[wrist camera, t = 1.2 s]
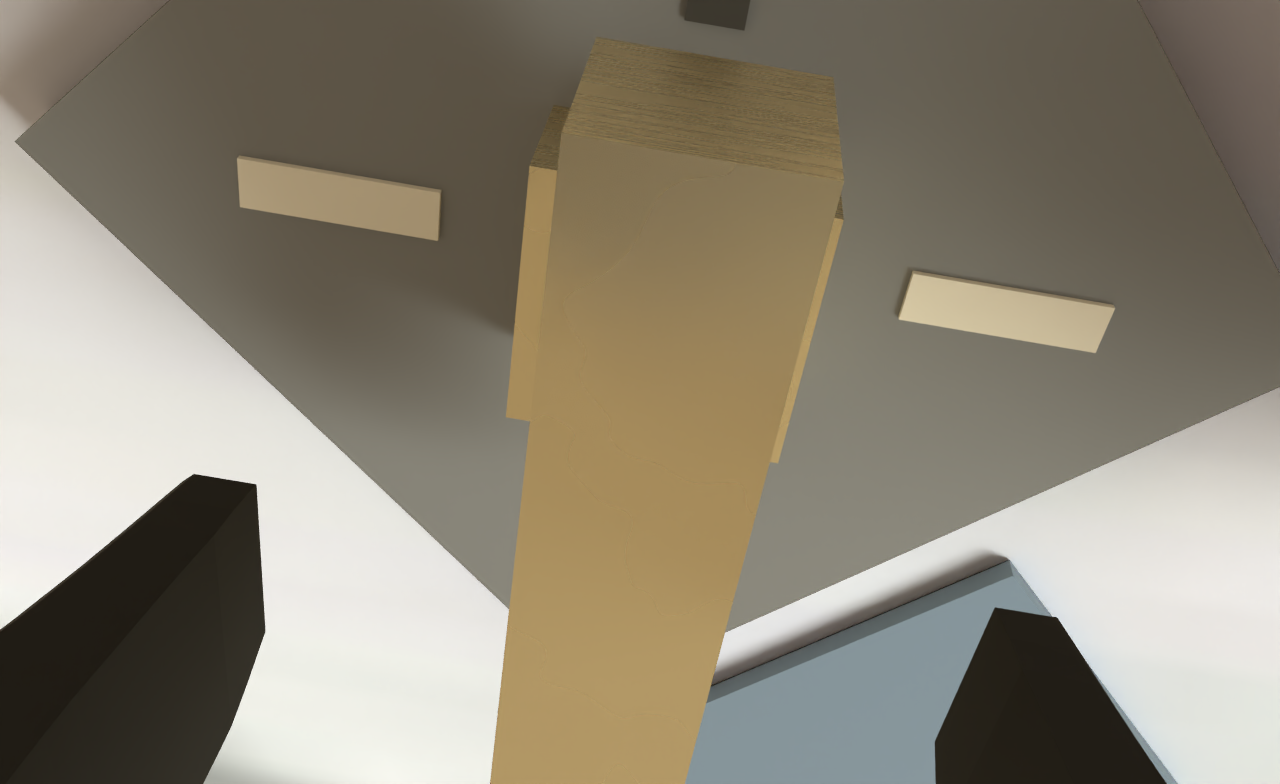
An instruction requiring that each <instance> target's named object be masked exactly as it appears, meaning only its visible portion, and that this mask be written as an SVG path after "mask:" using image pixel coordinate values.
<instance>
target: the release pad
mask: <svg viewBox="0 0 1280 784" xmlns="http://www.w3.org/2000/svg"><path fill="white" fill-rule="evenodd" d="M995 607H997V608H1003V609H1009V610H1015V611H1021V612H1027V613H1033V614H1039V615H1045V616H1051V615H1050V613H1049V612H1048V611H1047V609H1046V608H1045V607H1044V605H1043V604H1042V603H1041V601H1040V600H1039V599H1038V597H1037V596H1036V595H1035V593H1034V592H1033V591H1032V589H1031V588H1030V587H1029V585H1028V584H1027V583H1026V581H1025V580H1024V579H1023V577H1022V576H1021V575H1020V573H1019V572H1018V571H1017V569H1016V568H1015V567H1014V565H1013V564H1012V563H1011V561H1010V560H1009V561H1007V562H1004V563H1002V564H1000V565H997V566H995V567H992V568H990V569H988V570H985V571H983V572H981V573H978V574H976V575H974V576H971V577H969V578H966V579H964V580H962V581H959V582H957V583H955V584H952V585H950V586H948V587H945V588H943V589H940V590H938V591H936V592H933V593H931V594H929V595H926V596H924V597H922V598H919V599H917V600H914V601H912V602H910V603H907V604H905V605H903V606H900V607H898V608H896V609H893V610H891V611H888V612H886V613H884V614H881V615H879V616H877V617H874V618H872V619H870V620H867V621H865V622H863V623H860V624H858V625H855V626H853V627H851V628H848V629H846V630H844V631H841V632H839V633H837V634H834V635H832V636H829V637H827V638H825V639H822V640H820V641H818V642H815V643H813V644H811V645H808V646H806V647H803V648H801V649H799V650H796V651H794V652H792V653H789V654H787V655H785V656H782V657H780V658H777V659H775V660H773V661H770V662H768V663H766V664H763V665H761V666H759V667H756V668H754V669H751V670H749V671H747V672H744V673H742V674H740V675H737V676H735V677H733V678H730V679H728V680H726V681H723V682H721V683H718V684H716V685H714V686H711V687H710V691H709V694H708V698H707V702H706V706H705V709H704V713H703V717H702V721H701V725H700V728H699V732H698V736H697V740H696V744H695V747H694V751H693V755H692V759H691V762H690V766H689V770H688V774H687V778H686V781H685V784H936V780H935V740H936V737H937V735H938V733H939V731H940V729H941V726H942V724H943V722H944V720H945V717H946V715H947V713H948V711H949V708H950V706H951V704H952V702H953V699H954V697H955V695H956V693H957V691H958V688H959V686H960V684H961V682H962V679H963V677H964V675H965V673H966V670H967V668H968V666H969V664H970V662H971V659H972V657H973V655H974V653H975V650H976V648H977V646H978V644H979V641H980V639H981V637H982V635H983V632H984V630H985V628H986V626H987V624H988V621H989V619H990V617H991V615H992V612H993V610H994V608H995ZM1051 617H1052V616H1051ZM1091 670H1092V669H1091ZM1092 672H1093V671H1092ZM1093 673H1094V672H1093ZM1094 675H1095V673H1094ZM1095 676H1096V675H1095ZM1096 678H1097V679H1098V681H1099V682H1100V684H1101V685H1102V687H1103V689H1104V690H1105V692H1106V693H1107V695H1108V696H1109V698H1110V699H1111V701H1112V702H1113V704H1114V705H1115V707H1116V709H1117V710H1118V712H1119V713H1120V715H1121V716H1122V718H1123V719H1124V721H1125V722H1126V724H1127V725H1128V727H1129V728H1130V730H1131V731H1132V733H1133V734H1134V736H1135V737H1136V739H1137V740H1138V742H1139V743H1140V745H1141V746H1142V748H1143V749H1144V751H1145V752H1146V754H1147V755H1148V757H1149V758H1150V760H1151V761H1152V763H1153V764H1154V766H1155V767H1156V769H1157V770H1158V772H1159V773H1160V774H1161V776H1162V777H1163V779H1164V780H1165V782H1166V783H1167V784H1177V782H1176V781H1175V780H1174V778H1173V777H1172V776H1171V774H1170V773H1169V772H1168V770H1167V769H1166V768H1165V766H1164V765H1163V764H1162V762H1161V761H1160V760H1159V758H1158V757H1157V756H1156V754H1155V753H1154V752H1153V750H1152V749H1151V748H1150V746H1149V745H1148V744H1147V742H1146V741H1145V740H1144V738H1143V737H1142V736H1141V734H1140V733H1139V732H1138V730H1137V729H1136V728H1135V726H1134V725H1133V724H1132V722H1131V721H1130V720H1129V718H1128V717H1127V716H1126V714H1125V713H1124V712H1123V710H1122V709H1121V708H1120V706H1119V705H1118V704H1117V702H1116V701H1115V700H1114V698H1113V697H1112V696H1111V694H1110V693H1109V692H1108V690H1107V689H1106V688H1105V686H1104V685H1103V684H1102V682H1101V681H1100V680H1099V678H1098V677H1097V676H1096Z"/></svg>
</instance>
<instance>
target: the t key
mask: <svg viewBox="0 0 1280 784" xmlns="http://www.w3.org/2000/svg"><path fill="white" fill-rule="evenodd" d="M843 184H844V176H843V167H842V157H841V147H840V137H839V127H838V118H837V108H836V98H835V88H834V79H833V77H829V76H823V75H817V74H812V73H806V72H800V71H794V70H788V69H783V68H777V67H771V66H765V65H759V64H753V63H748V62H742V61H736V60H730V59H724V58H719V57H713V56H707V55H701V54H695V53H689V52H684V51H678V50H672V49H666V48H660V47H654V46H649V45H643V44H637V43H631V42H625V41H620V40H614V39H608V38H602V37H596V39H595V42H594V45H593V48H592V50H591V53H590V56H589V59H588V61H587V64H586V67H585V70H584V72H583V75H582V78H581V81H580V83H579V86H578V89H577V92H576V94H575V97H574V100H573V103H572V105H571V108H569V107H563V106H557V105H553V108H552V110H551V113H550V115H549V118H548V121H547V123H546V126H545V128H544V131H543V133H542V136H541V138H540V141H539V143H538V146H537V148H536V151H535V153H534V156H533V158H532V161H531V164H530V166H529V177H528V188H527V198H526V209H525V219H524V230H523V241H522V251H521V262H520V272H519V283H518V293H517V304H516V315H515V325H514V336H513V346H512V357H511V368H510V378H509V389H508V399H507V410H506V417H508V418H514V419H519V420H525V421H530V424H529V434H528V443H527V452H526V461H525V470H524V479H523V488H522V497H521V507H520V516H519V525H518V534H517V543H516V552H515V561H514V570H513V580H512V589H511V598H510V607H509V616H508V625H507V634H506V644H505V653H504V662H503V671H502V680H501V689H500V698H499V707H498V717H497V726H496V735H495V744H494V753H493V762H492V771H491V780H490V784H685V781H686V778H687V774H688V770H689V766H690V762H691V759H692V755H693V751H694V747H695V744H696V740H697V736H698V732H699V728H700V725H701V721H702V717H703V713H704V709H705V706H706V702H707V698H708V694H709V691H710V687H711V683H712V679H713V675H714V672H715V668H716V664H717V660H718V657H719V653H720V649H721V645H722V641H723V638H724V634H725V630H726V626H727V622H728V619H729V615H730V611H731V607H732V604H733V600H734V596H735V592H736V588H737V585H738V581H739V577H740V573H741V570H742V566H743V562H744V558H745V554H746V551H747V547H748V543H749V539H750V535H751V532H752V528H753V524H754V520H755V517H756V513H757V509H758V505H759V501H760V498H761V494H762V490H763V486H764V482H765V479H766V475H767V471H768V467H769V464H770V462H773V463H778V462H779V458H780V454H781V451H782V447H783V443H784V439H785V436H786V432H787V428H788V425H789V421H790V417H791V413H792V410H793V406H794V402H795V399H796V395H797V391H798V387H799V384H800V380H801V376H802V373H803V369H804V365H805V362H806V358H807V354H808V350H809V347H810V343H811V339H812V336H813V332H814V328H815V324H816V321H817V317H818V313H819V310H820V306H821V302H822V298H823V295H824V291H825V287H826V284H827V280H828V276H829V273H830V269H831V265H832V261H833V258H834V254H835V250H836V247H837V243H838V239H839V235H840V232H841V228H842V224H843V221H844V217H843V207H842V196H841V191H842V187H843Z"/></svg>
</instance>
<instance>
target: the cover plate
mask: <svg viewBox="0 0 1280 784" xmlns="http://www.w3.org/2000/svg"><path fill="white" fill-rule="evenodd" d="M596 37H602V38H608V39H614V40H620V41H625V42H631V43H637V44H643V45H649V46H654V47H660V48H666V49H672V50H678V51H684V52H689V53H695V54H701V55H707V56H713V57H719V58H724V59H730V60H736V61H742V62H748V63H753V64H759V65H765V66H771V67H777V68H783V69H788V70H794V71H800V72H806V73H812V74H817V75H823V76H829V77H833V79H834V88H835V98H836V108H837V118H838V127H839V137H840V147H841V157H842V167H843V176H844V184H843V187H842V191H841V196H842V207H843V217H844V221H843V224H842V228H841V232H840V235H839V239H838V243H837V247H836V250H835V254H834V258H833V261H832V265H831V269H830V273H829V276H828V280H827V284H826V287H825V291H824V295H823V298H822V302H821V306H820V310H819V313H818V317H817V321H816V324H815V328H814V332H813V336H812V339H811V343H810V347H809V350H808V354H807V358H806V362H805V365H804V369H803V373H802V376H801V380H800V384H799V387H798V391H797V395H796V399H795V402H794V406H793V410H792V413H791V417H790V421H789V425H788V428H787V432H786V436H785V439H784V443H783V447H782V451H781V454H780V458H779V462H778V463H773V462H770V464H769V467H768V471H767V475H766V479H765V482H764V486H763V490H762V494H761V498H760V501H759V505H758V509H757V513H756V517H755V520H754V524H753V528H752V532H751V535H750V539H749V543H748V547H747V551H746V554H745V558H744V562H743V566H742V570H741V573H740V577H739V581H738V585H737V588H736V592H735V596H734V600H733V604H732V607H731V611H730V615H729V619H728V622H727V626H726V630H725V632H728V631H730V630H732V629H734V628H737V627H739V626H741V625H743V624H746V623H748V622H750V621H752V620H755V619H757V618H759V617H761V616H764V615H766V614H768V613H771V612H773V611H775V610H777V609H780V608H782V607H784V606H786V605H789V604H791V603H793V602H795V601H798V600H800V599H802V598H804V597H807V596H809V595H811V594H813V593H816V592H818V591H820V590H822V589H825V588H827V587H829V586H831V585H834V584H836V583H838V582H840V581H843V580H845V579H847V578H849V577H852V576H854V575H856V574H859V573H861V572H863V571H865V570H868V569H870V568H872V567H874V566H877V565H879V564H881V563H883V562H886V561H888V560H890V559H892V558H895V557H897V556H899V555H901V554H904V553H906V552H908V551H910V550H913V549H915V548H917V547H919V546H922V545H924V544H926V543H928V542H931V541H933V540H935V539H937V538H940V537H942V536H944V535H947V534H949V533H951V532H953V531H956V530H958V529H960V528H962V527H965V526H967V525H969V524H971V523H974V522H976V521H978V520H980V519H983V518H985V517H987V516H989V515H992V514H994V513H996V512H998V511H1001V510H1003V509H1005V508H1007V507H1010V506H1012V505H1014V504H1016V503H1019V502H1021V501H1023V500H1025V499H1028V498H1030V497H1032V496H1035V495H1037V494H1039V493H1041V492H1044V491H1046V490H1048V489H1050V488H1053V487H1055V486H1057V485H1059V484H1062V483H1064V482H1066V481H1068V480H1071V479H1073V478H1075V477H1077V476H1080V475H1082V474H1084V473H1086V472H1089V471H1091V470H1093V469H1095V468H1098V467H1100V466H1102V465H1104V464H1107V463H1109V462H1111V461H1113V460H1116V459H1118V458H1120V457H1123V456H1125V455H1127V454H1129V453H1132V452H1134V451H1136V450H1138V449H1141V448H1143V447H1145V446H1147V445H1150V444H1152V443H1154V442H1156V441H1159V440H1161V439H1163V438H1165V437H1168V436H1170V435H1172V434H1174V433H1177V432H1179V431H1181V430H1183V429H1186V428H1188V427H1190V426H1192V425H1195V424H1197V423H1199V422H1202V421H1204V420H1206V419H1208V418H1211V417H1213V416H1215V415H1217V414H1220V413H1222V412H1224V411H1226V410H1229V409H1231V408H1233V407H1235V406H1238V405H1240V404H1242V403H1244V402H1247V401H1249V400H1251V399H1253V398H1256V397H1258V396H1260V395H1262V394H1265V393H1267V392H1269V391H1271V390H1274V389H1276V388H1278V387H1280V273H1279V271H1278V269H1277V267H1276V266H1275V264H1274V262H1273V260H1272V258H1271V256H1270V254H1269V252H1268V250H1267V248H1266V246H1265V244H1264V242H1263V241H1262V239H1261V237H1260V235H1259V233H1258V231H1257V229H1256V227H1255V225H1254V223H1253V221H1252V219H1251V217H1250V216H1249V214H1248V212H1247V210H1246V208H1245V206H1244V204H1243V202H1242V200H1241V198H1240V196H1239V194H1238V192H1237V191H1236V189H1235V187H1234V185H1233V183H1232V181H1231V179H1230V177H1229V175H1228V173H1227V171H1226V169H1225V167H1224V166H1223V164H1222V162H1221V160H1220V158H1219V156H1218V154H1217V152H1216V150H1215V148H1214V146H1213V144H1212V142H1211V141H1210V139H1209V137H1208V135H1207V133H1206V131H1205V129H1204V127H1203V125H1202V123H1201V121H1200V119H1199V117H1198V116H1197V114H1196V112H1195V110H1194V108H1193V106H1192V104H1191V102H1190V100H1189V98H1188V96H1187V94H1186V92H1185V91H1184V89H1183V87H1182V85H1181V83H1180V81H1179V79H1178V77H1177V75H1176V73H1175V71H1174V69H1173V67H1172V66H1171V64H1170V62H1169V60H1168V58H1167V56H1166V54H1165V52H1164V50H1163V48H1162V46H1161V44H1160V42H1159V41H1158V39H1157V37H1156V35H1155V33H1154V31H1153V29H1152V27H1151V25H1150V23H1149V21H1148V19H1147V17H1146V16H1145V14H1144V12H1143V10H1142V8H1141V6H1140V4H1139V2H1138V0H169V1H168V2H167V3H166V4H165V5H164V6H163V7H162V8H161V9H159V10H158V11H157V12H156V13H155V14H154V15H153V16H152V17H151V18H150V19H149V20H147V21H146V22H145V23H144V24H143V25H142V26H141V27H140V28H139V29H138V30H136V31H135V32H134V33H133V34H132V35H131V36H130V37H129V38H128V39H127V40H125V41H124V42H123V43H122V44H121V45H120V46H119V47H118V48H117V49H116V50H115V51H113V52H112V53H111V54H110V55H109V56H108V57H107V58H106V59H105V60H104V61H102V62H101V63H100V64H99V65H98V66H97V67H96V68H95V69H94V70H93V71H91V72H90V73H89V74H88V75H87V76H86V77H85V78H84V79H83V80H82V81H81V82H79V83H78V84H77V85H76V86H75V87H74V88H73V89H72V90H71V91H70V92H68V93H67V94H66V95H65V96H64V97H63V98H62V99H61V100H60V101H59V102H57V103H56V104H55V105H54V106H53V107H52V108H51V109H50V110H49V111H48V112H47V113H45V114H44V115H43V116H42V117H41V118H40V119H39V120H38V121H37V122H36V123H34V124H33V125H32V126H31V127H30V128H29V129H28V130H27V131H26V132H25V133H23V134H22V135H21V136H20V137H19V138H18V139H17V140H16V141H15V142H16V143H17V144H18V145H19V146H20V147H21V148H22V149H23V150H24V151H25V152H26V153H27V154H28V155H29V156H31V157H32V158H33V159H34V160H35V161H36V162H37V163H38V164H39V165H40V166H41V167H42V168H43V169H44V170H45V171H46V172H47V173H49V174H50V175H51V176H52V177H53V178H54V179H55V180H56V181H57V182H58V183H59V184H60V185H61V186H62V187H63V188H64V189H65V190H67V191H68V192H69V193H70V194H71V195H72V196H73V197H74V198H75V199H76V200H77V201H78V202H79V203H80V204H81V205H82V206H83V207H84V208H86V209H87V210H88V211H89V212H90V213H91V214H92V215H93V216H94V217H95V218H96V219H97V220H98V221H99V222H100V223H101V224H102V225H104V226H105V227H106V228H107V229H108V230H109V231H110V232H111V233H112V234H113V235H114V236H115V237H116V238H117V239H118V240H119V241H120V242H121V243H123V244H124V245H125V246H126V247H127V248H128V249H129V250H130V251H131V252H132V253H133V254H134V255H135V256H136V257H137V258H138V259H139V260H141V261H142V262H143V263H144V264H145V265H146V266H147V267H148V268H149V269H150V270H151V271H152V272H153V273H154V274H155V275H156V276H157V277H158V278H160V279H161V280H162V281H163V282H164V283H165V284H166V285H167V286H168V287H169V288H170V289H171V290H172V291H173V292H174V293H175V294H176V295H178V296H179V297H180V298H181V299H182V300H183V301H184V302H185V303H186V304H187V305H188V306H189V307H190V308H191V309H192V310H193V311H194V312H195V313H197V314H198V315H199V316H200V317H201V318H202V319H203V320H204V321H205V322H206V323H207V324H208V325H209V326H210V327H211V328H212V329H213V330H215V331H216V332H217V333H218V334H219V335H220V336H221V337H222V338H223V339H224V340H225V341H226V342H227V343H228V344H229V345H230V346H231V347H232V348H234V349H235V350H236V351H237V352H238V353H239V354H240V355H241V356H242V357H243V358H244V359H245V360H246V361H247V362H248V363H249V364H250V365H252V366H253V367H254V368H255V369H256V370H257V371H258V372H259V373H260V374H261V375H262V376H263V377H264V378H265V379H266V380H267V381H268V382H269V383H271V384H272V385H273V386H274V387H275V388H276V389H277V390H278V391H279V392H280V393H281V394H282V395H283V396H284V397H285V398H286V399H287V400H289V401H290V402H291V403H292V404H293V405H294V406H295V407H296V408H297V409H298V410H299V411H300V412H301V413H302V414H303V415H304V416H305V417H307V418H308V419H309V420H310V421H311V422H312V423H313V424H314V425H315V426H316V427H317V428H318V429H319V430H320V431H321V432H322V433H323V434H324V435H326V436H327V437H328V438H329V439H330V440H331V441H332V442H333V443H334V444H335V445H336V446H337V447H338V448H339V449H340V450H341V451H342V452H344V453H345V454H346V455H347V456H348V457H349V458H350V459H351V460H352V461H353V462H354V463H355V464H356V465H357V466H358V467H359V468H360V469H361V470H363V471H364V472H365V473H366V474H367V475H368V476H369V477H370V478H371V479H372V480H373V481H374V482H375V483H376V484H377V485H378V486H379V487H381V488H382V489H383V490H384V491H385V492H386V493H387V494H388V495H389V496H390V497H391V498H392V499H393V500H394V501H395V502H396V503H397V504H398V505H400V506H401V507H402V508H403V509H404V510H405V511H406V512H407V513H408V514H409V515H410V516H411V517H412V518H413V519H414V520H415V521H416V522H418V523H419V524H420V525H421V526H422V527H423V528H424V529H425V530H426V531H427V532H428V533H429V534H430V535H431V536H432V537H433V538H434V539H435V540H437V541H438V542H439V543H440V544H441V545H442V546H443V547H444V548H445V549H446V550H447V551H448V552H449V553H450V554H451V555H452V556H453V557H455V558H456V559H457V560H458V561H459V562H460V563H461V564H462V565H463V566H464V567H465V568H466V569H467V570H468V571H469V572H470V573H471V574H472V575H474V576H475V577H476V578H477V579H478V580H479V581H480V582H481V583H482V584H483V585H484V586H485V587H486V588H487V589H488V590H489V591H490V592H492V593H493V594H494V595H495V596H496V597H497V598H498V599H499V600H500V601H501V602H502V603H503V604H504V605H505V606H506V607H507V608H508V609H509V607H510V598H511V589H512V580H513V570H514V561H515V552H516V543H517V534H518V525H519V516H520V507H521V497H522V488H523V479H524V470H525V461H526V452H527V443H528V434H529V424H530V421H525V420H519V419H514V418H508V417H506V410H507V399H508V389H509V378H510V368H511V357H512V346H513V336H514V325H515V315H516V304H517V293H518V283H519V272H520V262H521V251H522V241H523V230H524V219H525V209H526V198H527V188H528V177H529V166H530V164H531V161H532V158H533V156H534V153H535V151H536V148H537V146H538V143H539V141H540V138H541V136H542V133H543V131H544V128H545V126H546V123H547V121H548V118H549V115H550V113H551V110H552V108H553V105H557V106H563V107H569V108H571V105H572V103H573V100H574V97H575V94H576V92H577V89H578V86H579V83H580V81H581V78H582V75H583V72H584V70H585V67H586V64H587V61H588V59H589V56H590V53H591V50H592V48H593V45H594V42H595V39H596Z"/></svg>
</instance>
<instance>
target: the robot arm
mask: <svg viewBox="0 0 1280 784" xmlns="http://www.w3.org/2000/svg"><path fill="white" fill-rule="evenodd" d="M264 634H265V617H264V601H263V585H262V569H261V552H260V536H259V520H258V504H257V487H256V484H250V483H244V482H238V481H232V480H226V479H220V478H214V477H208V476H202V475H196V474H193V475H192V476H190V477H189V478H187V479H186V480H184V481H183V482H182V483H180V484H179V485H178V486H177V487H176V488H174V489H173V490H172V491H171V492H170V493H168V494H167V495H166V496H165V497H164V498H162V499H161V500H160V501H159V502H158V503H156V504H155V505H154V506H153V507H152V508H151V509H149V510H148V511H147V512H146V513H145V514H143V515H142V516H141V517H140V518H139V519H137V520H136V521H135V522H134V523H133V524H132V525H130V526H129V527H128V528H127V529H126V530H124V531H123V532H122V533H121V534H120V535H118V536H117V537H116V538H115V539H114V540H112V541H111V542H110V543H109V544H108V545H106V546H105V547H104V548H103V549H102V550H100V551H99V552H98V553H97V554H95V555H94V556H93V557H92V558H91V559H89V560H88V561H87V562H86V563H85V564H83V565H82V566H81V567H80V568H78V569H77V570H76V571H75V572H73V573H72V574H71V575H70V576H68V577H67V578H66V579H65V580H63V581H62V582H61V583H59V584H58V585H57V586H56V587H54V588H53V589H52V590H51V591H49V592H48V593H47V594H45V595H44V596H43V597H42V598H40V599H39V600H38V601H37V602H35V603H34V604H33V605H32V606H30V607H29V608H28V609H26V610H25V611H24V612H23V613H21V614H20V615H19V616H18V617H16V618H15V619H14V620H12V621H11V622H10V623H8V624H7V625H6V626H4V627H3V628H2V629H0V784H203V783H204V781H205V779H206V777H207V775H208V773H209V771H210V769H211V767H212V765H213V763H214V761H215V759H216V757H217V755H218V753H219V751H220V749H221V747H222V745H223V742H224V740H225V738H226V736H227V734H228V732H229V730H230V728H231V726H232V723H233V721H234V718H235V715H236V712H237V710H238V707H239V704H240V702H241V699H242V696H243V694H244V691H245V688H246V685H247V683H248V680H249V677H250V674H251V671H252V668H253V665H254V663H255V660H256V657H257V654H258V651H259V648H260V645H261V642H262V639H263V637H264ZM935 780H936V784H1167V783H1166V782H1165V780H1164V779H1163V777H1162V776H1161V774H1160V773H1159V772H1158V770H1157V769H1156V767H1155V766H1154V764H1153V763H1152V761H1151V760H1150V758H1149V757H1148V755H1147V754H1146V752H1145V751H1144V749H1143V748H1142V746H1141V745H1140V743H1139V742H1138V740H1137V739H1136V737H1135V736H1134V734H1133V733H1132V731H1131V730H1130V728H1129V727H1128V725H1127V724H1126V722H1125V721H1124V719H1123V718H1122V716H1121V715H1120V713H1119V712H1118V710H1117V709H1116V707H1115V705H1114V704H1113V702H1112V701H1111V699H1110V698H1109V696H1108V695H1107V693H1106V692H1105V690H1104V689H1103V687H1102V685H1101V684H1100V682H1099V681H1098V679H1097V678H1096V676H1095V675H1094V673H1093V672H1092V670H1091V668H1090V667H1089V665H1088V664H1087V662H1086V661H1085V659H1084V658H1083V656H1082V655H1081V653H1080V652H1079V650H1078V649H1077V647H1076V645H1075V644H1074V642H1073V641H1072V639H1071V638H1070V636H1069V635H1068V633H1067V632H1066V630H1065V629H1064V627H1063V626H1062V624H1061V623H1060V621H1059V620H1058V618H1057V617H1051V616H1045V615H1039V614H1033V613H1027V612H1021V611H1015V610H1009V609H1003V608H997V607H995V608H994V610H993V612H992V615H991V617H990V619H989V621H988V624H987V626H986V628H985V630H984V632H983V635H982V637H981V639H980V641H979V644H978V646H977V648H976V650H975V653H974V655H973V657H972V659H971V662H970V664H969V666H968V668H967V670H966V673H965V675H964V677H963V679H962V682H961V684H960V686H959V688H958V691H957V693H956V695H955V697H954V699H953V702H952V704H951V706H950V708H949V711H948V713H947V715H946V717H945V720H944V722H943V724H942V726H941V729H940V731H939V733H938V735H937V737H936V740H935Z"/></svg>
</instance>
